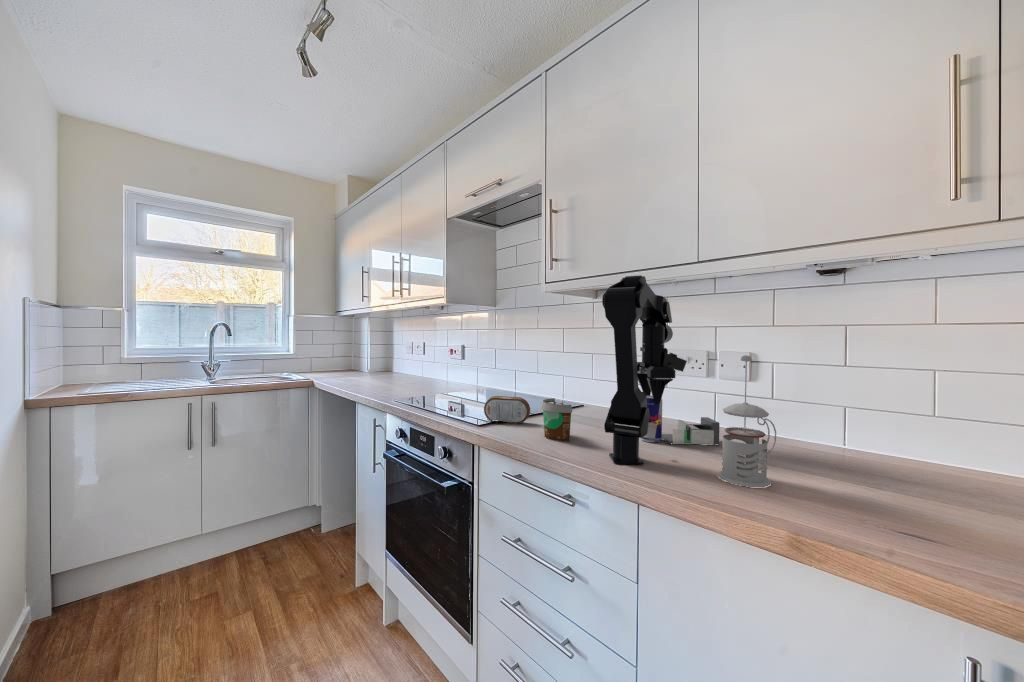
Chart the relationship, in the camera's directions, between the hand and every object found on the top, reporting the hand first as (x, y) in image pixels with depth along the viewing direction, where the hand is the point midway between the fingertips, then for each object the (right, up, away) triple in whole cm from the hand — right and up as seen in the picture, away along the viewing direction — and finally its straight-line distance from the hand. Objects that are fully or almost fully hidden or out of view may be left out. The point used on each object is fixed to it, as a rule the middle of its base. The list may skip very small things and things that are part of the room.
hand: (652, 401), depth 111 cm
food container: (-27, -11, +2) cm, 29 cm away
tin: (-40, -10, +20) cm, 46 cm away
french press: (+9, -12, -29) cm, 33 cm away
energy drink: (0, -11, 0) cm, 11 cm away
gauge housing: (+10, -11, -1) cm, 15 cm away
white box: (+10, -10, -1) cm, 14 cm away
